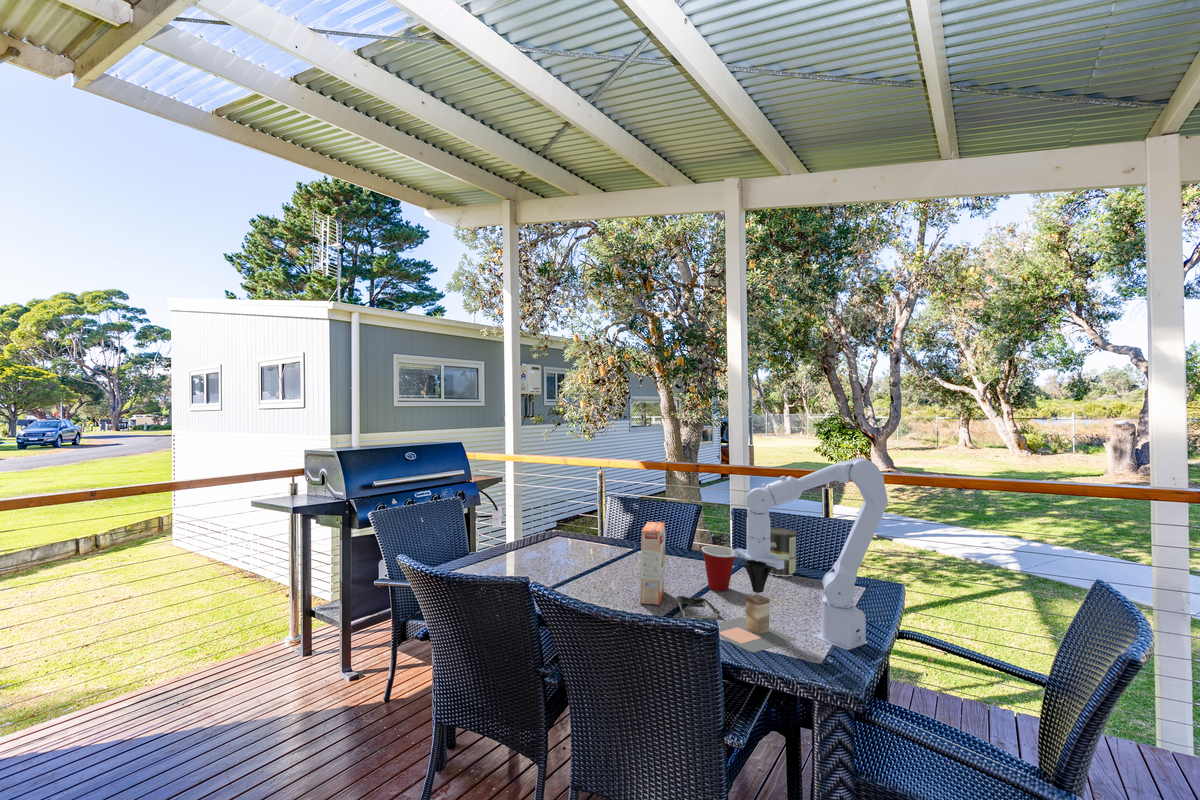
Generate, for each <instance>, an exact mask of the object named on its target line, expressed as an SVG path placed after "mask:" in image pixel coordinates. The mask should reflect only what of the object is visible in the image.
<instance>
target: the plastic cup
mask: <svg viewBox="0 0 1200 800" xmlns="http://www.w3.org/2000/svg"><path fill="white" fill-rule="evenodd" d="M701 551H702V553H703V560H704V565H705V571H706V572H705V573H706V578H707V583H708V585H707V586H708V588H709V590H712V591H716V592H726V591H728V590H729V587H730V582H731V578H732V571H733V567H734V562H735V559H736V557H734V549H733V548H729V547H727V546H722V545H706V546H703V547H701ZM727 589H728V590H727ZM725 590H726V591H725Z"/></svg>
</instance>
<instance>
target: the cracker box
mask: <svg viewBox="0 0 1200 800" xmlns="http://www.w3.org/2000/svg"><path fill="white" fill-rule="evenodd" d="M640 542H641V544H640V595H639V596H640V597H639V599H640V604H641V603H642V604H641V605H650V604H657V605H656V606H660V604H661V601H662V598H663V595H664V593H665V569H666V568H665V567H666V565H665V564H666V522H662V521H647V522H646V524H645V525H644V527H643V528H642V529H641V540H640Z"/></svg>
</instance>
